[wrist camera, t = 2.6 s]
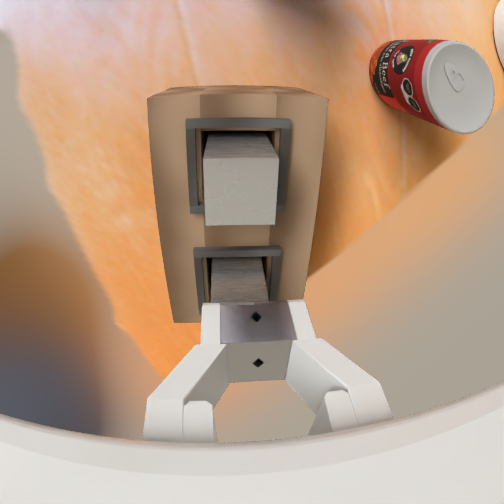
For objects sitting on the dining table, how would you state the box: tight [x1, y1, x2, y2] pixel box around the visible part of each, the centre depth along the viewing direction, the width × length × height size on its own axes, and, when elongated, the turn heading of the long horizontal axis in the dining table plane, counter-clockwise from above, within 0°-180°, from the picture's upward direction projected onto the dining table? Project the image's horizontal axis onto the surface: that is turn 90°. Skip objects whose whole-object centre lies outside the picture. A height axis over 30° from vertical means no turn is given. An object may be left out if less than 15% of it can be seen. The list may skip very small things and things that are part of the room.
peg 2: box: [211, 256, 269, 310], centre depth 27 cm, size 4×4×9 cm
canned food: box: [369, 40, 495, 134], centre depth 22 cm, size 8×8×11 cm
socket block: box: [147, 85, 328, 323], centre depth 28 cm, size 12×20×11 cm, turn 179°
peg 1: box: [203, 130, 279, 226], centre depth 21 cm, size 4×4×9 cm
